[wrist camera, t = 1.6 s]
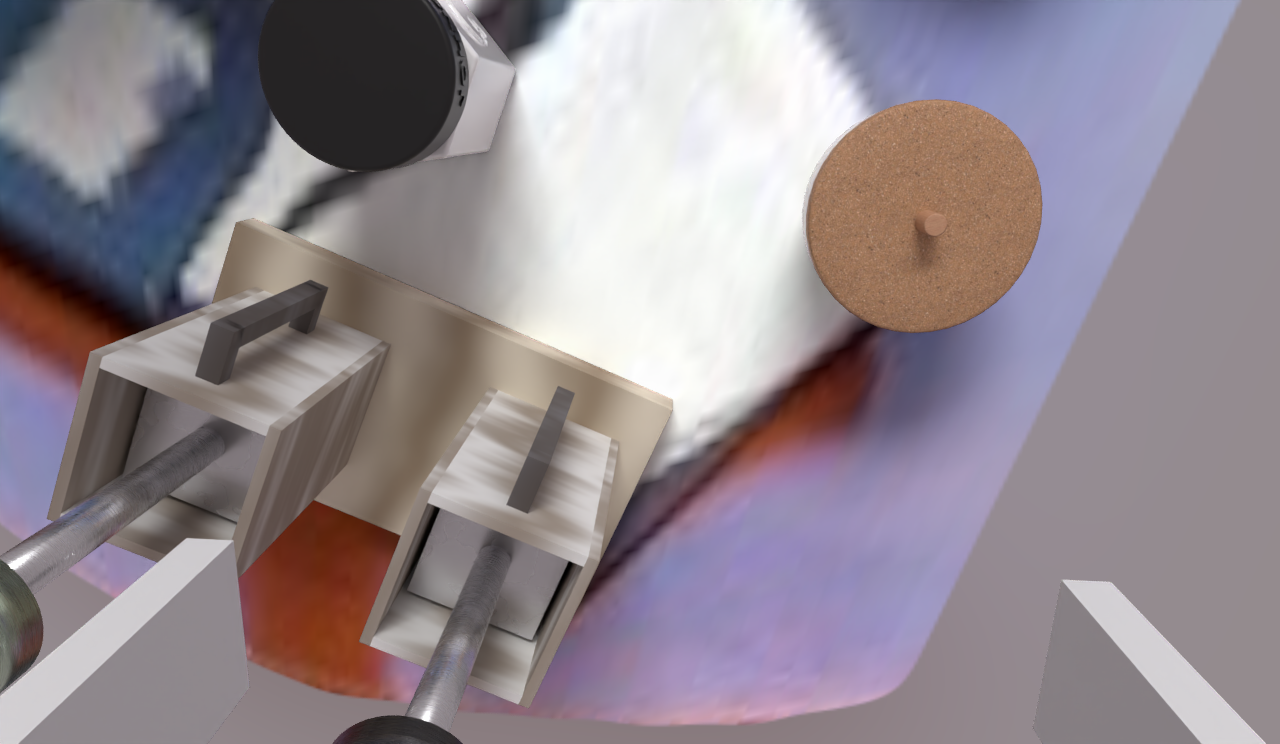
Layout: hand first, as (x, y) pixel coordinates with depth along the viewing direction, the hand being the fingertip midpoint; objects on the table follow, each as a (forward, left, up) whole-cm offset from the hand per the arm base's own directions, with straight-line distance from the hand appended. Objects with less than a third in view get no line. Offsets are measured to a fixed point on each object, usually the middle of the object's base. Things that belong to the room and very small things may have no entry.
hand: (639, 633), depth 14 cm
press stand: (-9, -14, -36) cm, 40 cm away
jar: (-15, +4, -36) cm, 39 cm away
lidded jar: (+10, +8, -36) cm, 38 cm away
